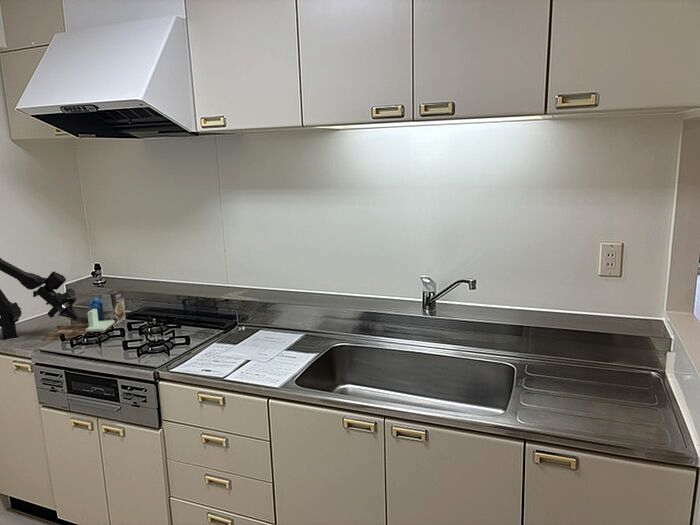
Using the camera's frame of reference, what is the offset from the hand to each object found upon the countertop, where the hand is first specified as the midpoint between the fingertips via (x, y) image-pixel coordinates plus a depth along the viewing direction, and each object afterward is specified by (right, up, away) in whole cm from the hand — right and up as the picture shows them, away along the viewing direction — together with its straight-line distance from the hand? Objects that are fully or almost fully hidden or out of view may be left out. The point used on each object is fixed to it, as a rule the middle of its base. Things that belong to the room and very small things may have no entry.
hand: (77, 318), depth 240 cm
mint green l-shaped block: (+10, -4, +2) cm, 11 cm away
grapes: (-2, -4, +24) cm, 24 cm away
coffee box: (+9, -4, +19) cm, 21 cm away
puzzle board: (+1, -7, +1) cm, 7 cm away
